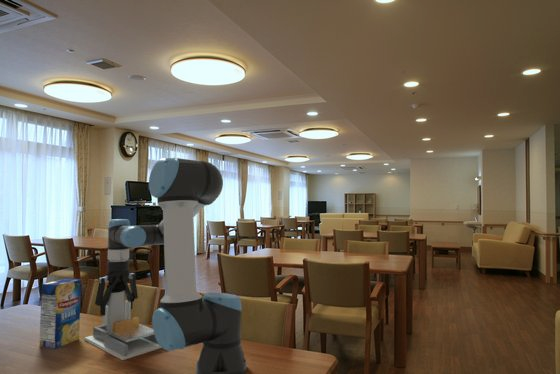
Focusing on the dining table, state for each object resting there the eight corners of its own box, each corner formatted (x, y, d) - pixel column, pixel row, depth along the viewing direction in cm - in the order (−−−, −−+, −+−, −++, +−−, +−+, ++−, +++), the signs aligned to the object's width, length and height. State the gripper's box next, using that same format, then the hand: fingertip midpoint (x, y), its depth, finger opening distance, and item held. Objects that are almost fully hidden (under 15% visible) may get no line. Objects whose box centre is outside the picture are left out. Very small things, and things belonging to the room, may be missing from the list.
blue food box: (39, 346, 135) (41, 283, 136) (64, 336, 146) (66, 278, 147) (54, 349, 133) (56, 285, 134) (79, 338, 144) (81, 279, 145)
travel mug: (118, 339, 140) (118, 284, 141) (102, 338, 141) (102, 283, 142) (129, 333, 146) (128, 280, 147) (113, 333, 147) (113, 280, 148)
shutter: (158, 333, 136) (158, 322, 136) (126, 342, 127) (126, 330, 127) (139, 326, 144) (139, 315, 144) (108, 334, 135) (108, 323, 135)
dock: (165, 346, 137) (165, 333, 137) (122, 360, 124) (122, 346, 124) (125, 329, 154) (125, 318, 155) (84, 340, 142) (84, 327, 142)
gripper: (138, 256, 155) (137, 313, 154) (85, 262, 139) (83, 325, 138) (148, 258, 150) (147, 317, 149) (94, 264, 134) (92, 330, 133)
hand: (116, 321), depth 144 cm, fingers open, 8 cm apart
